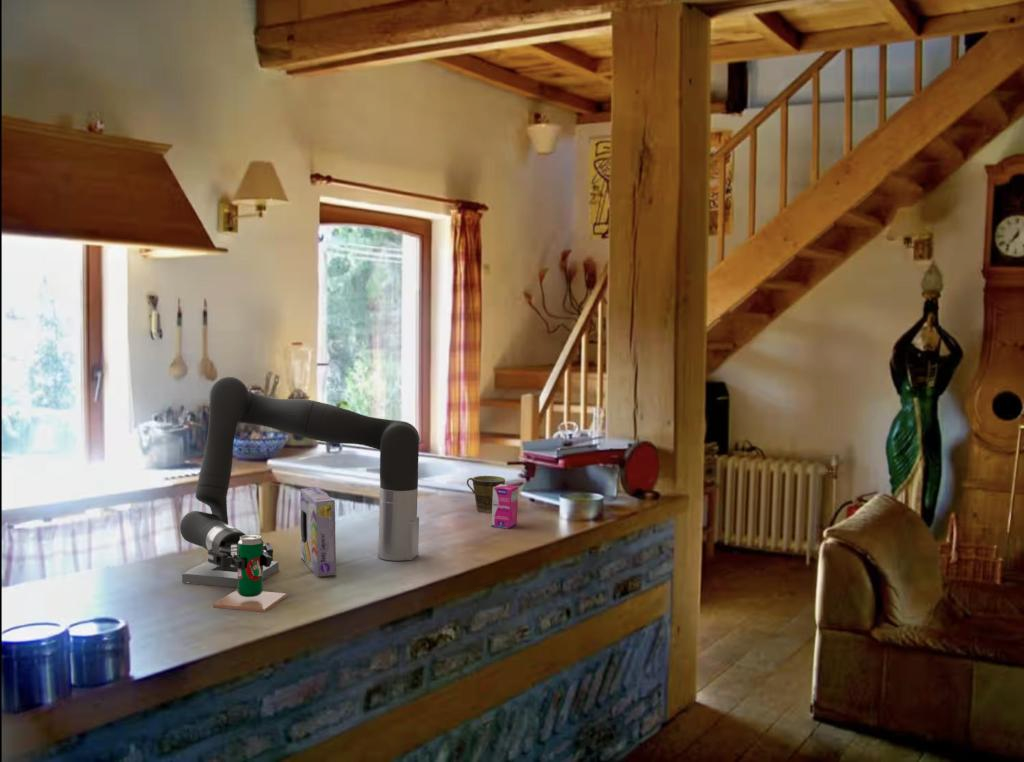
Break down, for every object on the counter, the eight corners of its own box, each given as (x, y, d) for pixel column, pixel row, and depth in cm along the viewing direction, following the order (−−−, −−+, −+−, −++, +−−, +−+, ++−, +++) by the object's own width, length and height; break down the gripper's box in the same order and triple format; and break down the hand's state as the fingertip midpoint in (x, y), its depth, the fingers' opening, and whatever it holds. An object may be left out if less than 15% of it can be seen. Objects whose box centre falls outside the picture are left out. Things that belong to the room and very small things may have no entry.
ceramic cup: (510, 510, 304) (511, 478, 303) (492, 516, 295) (493, 482, 294) (475, 504, 310) (476, 473, 310) (456, 509, 302) (457, 477, 301)
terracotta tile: (286, 596, 209) (286, 593, 209) (264, 611, 198) (264, 609, 198) (237, 591, 211) (237, 588, 211) (213, 607, 200) (213, 604, 200)
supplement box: (490, 527, 281) (492, 487, 280) (498, 523, 286) (500, 483, 285) (509, 529, 279) (511, 489, 278) (517, 525, 284) (518, 485, 283)
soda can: (240, 589, 207) (240, 533, 206) (264, 590, 207) (265, 534, 206) (235, 597, 202) (235, 540, 200) (260, 598, 202) (261, 540, 201)
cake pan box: (297, 557, 240) (299, 485, 239) (318, 556, 242) (320, 484, 241) (314, 579, 223) (316, 501, 221) (336, 577, 225) (338, 500, 223)
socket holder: (278, 570, 229) (278, 561, 228) (249, 588, 213) (249, 579, 213) (215, 564, 231) (215, 556, 231) (182, 582, 216) (182, 573, 216)
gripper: (195, 530, 211) (221, 549, 197) (260, 524, 219) (289, 541, 205) (194, 565, 212) (221, 586, 198) (259, 557, 220) (289, 577, 206)
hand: (256, 563), depth 202 cm, fingers closed on soda can, 4 cm apart
